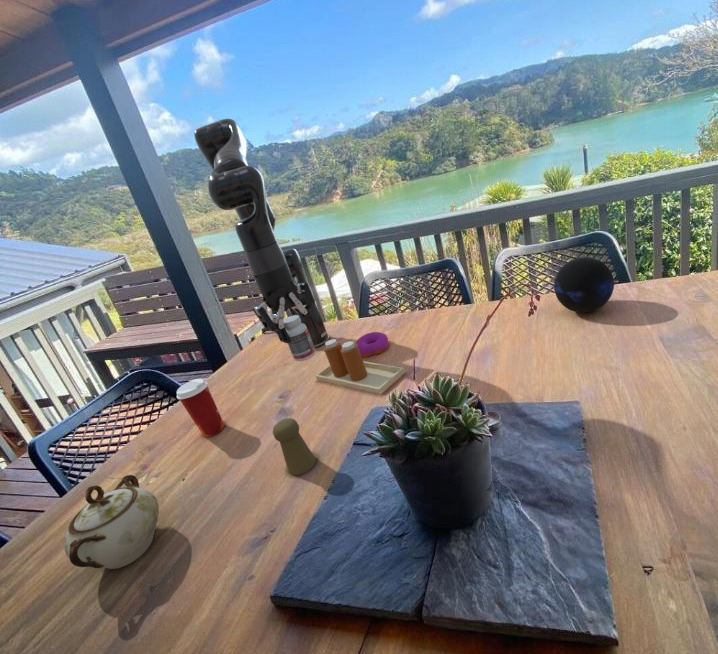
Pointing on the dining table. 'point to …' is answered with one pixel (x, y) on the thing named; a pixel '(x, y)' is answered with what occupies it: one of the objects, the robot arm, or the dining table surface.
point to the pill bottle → (299, 339)
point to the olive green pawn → (293, 447)
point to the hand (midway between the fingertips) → (297, 335)
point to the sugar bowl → (112, 526)
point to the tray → (373, 382)
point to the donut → (372, 343)
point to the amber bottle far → (335, 358)
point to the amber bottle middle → (353, 361)
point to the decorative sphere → (584, 285)
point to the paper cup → (201, 406)
